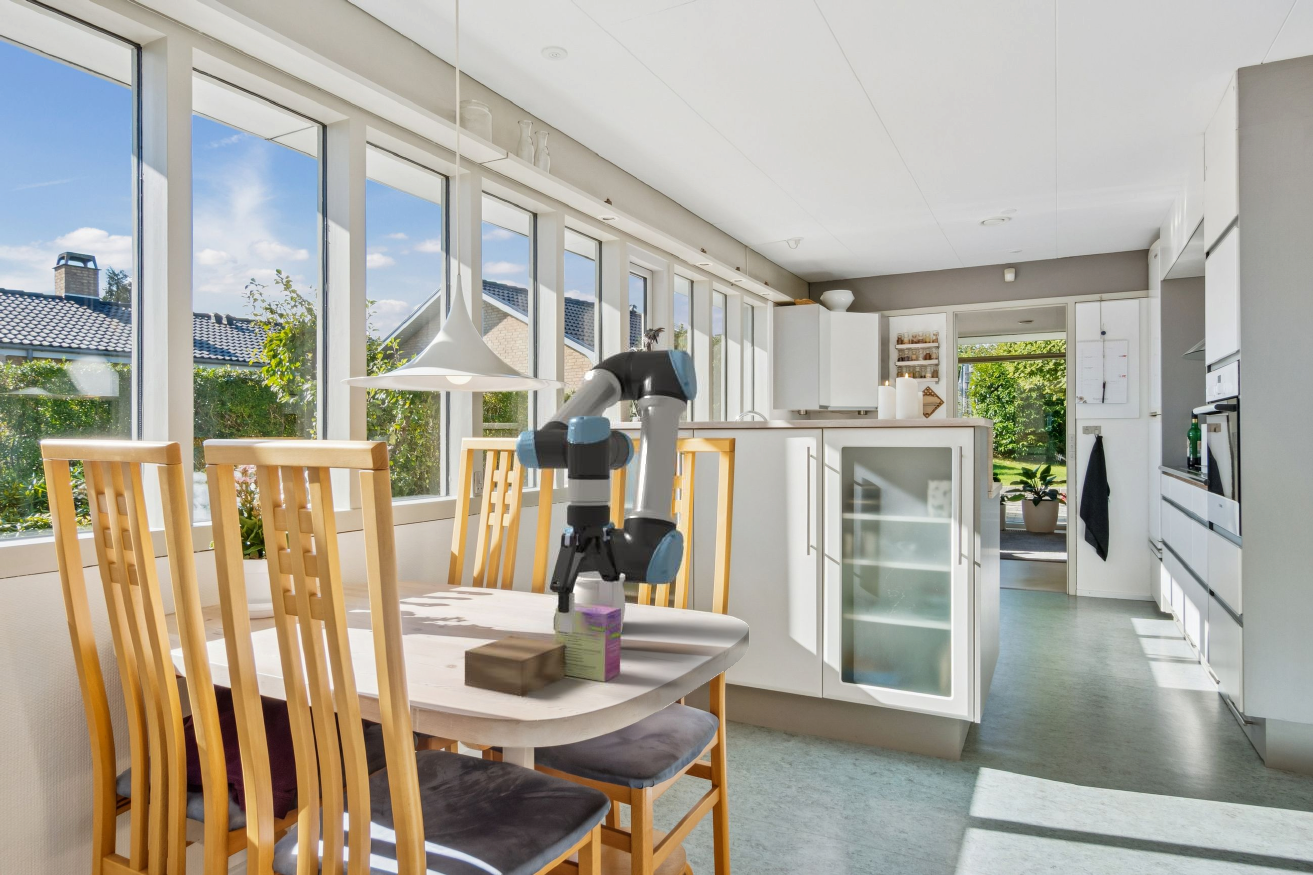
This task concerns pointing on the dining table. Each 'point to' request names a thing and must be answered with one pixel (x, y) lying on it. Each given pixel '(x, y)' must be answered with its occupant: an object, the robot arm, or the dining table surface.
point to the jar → (597, 591)
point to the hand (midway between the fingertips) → (587, 624)
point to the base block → (514, 665)
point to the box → (592, 642)
